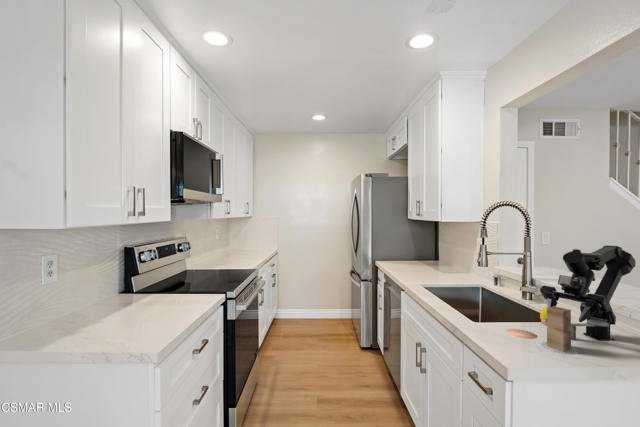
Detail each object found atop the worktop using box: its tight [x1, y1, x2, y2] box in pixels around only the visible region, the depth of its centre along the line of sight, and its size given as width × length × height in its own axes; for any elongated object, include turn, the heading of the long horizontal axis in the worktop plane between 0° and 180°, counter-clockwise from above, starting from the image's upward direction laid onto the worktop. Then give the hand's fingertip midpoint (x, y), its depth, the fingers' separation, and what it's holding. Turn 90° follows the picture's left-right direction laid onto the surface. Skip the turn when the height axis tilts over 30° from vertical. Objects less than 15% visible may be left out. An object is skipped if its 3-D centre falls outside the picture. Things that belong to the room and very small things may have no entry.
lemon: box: [539, 306, 548, 320], centre depth 130 cm, size 6×6×8 cm
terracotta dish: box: [505, 328, 538, 340], centre depth 118 cm, size 10×10×1 cm
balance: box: [540, 319, 609, 341], centre depth 113 cm, size 19×6×9 cm, turn 53°
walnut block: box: [546, 305, 572, 352], centre depth 105 cm, size 5×5×13 cm
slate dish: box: [540, 341, 579, 355], centre depth 105 cm, size 10×10×1 cm
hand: (563, 317), depth 107 cm, fingers open, 9 cm apart
